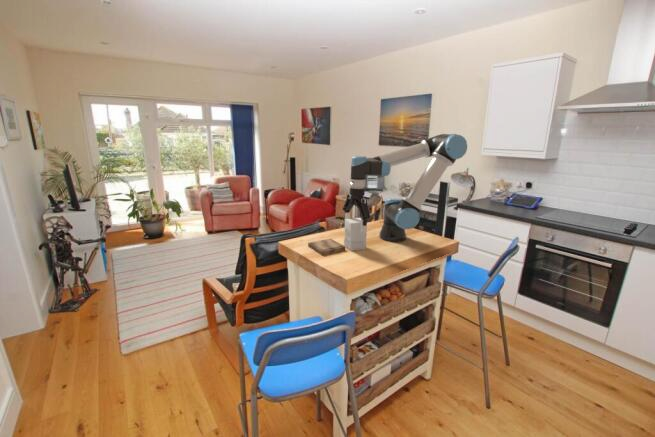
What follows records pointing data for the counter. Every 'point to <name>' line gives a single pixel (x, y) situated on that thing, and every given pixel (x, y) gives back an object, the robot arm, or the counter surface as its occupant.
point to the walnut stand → (326, 246)
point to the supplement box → (354, 234)
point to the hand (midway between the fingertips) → (354, 227)
